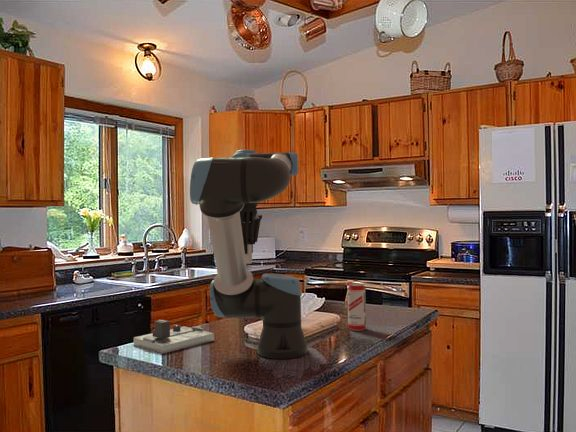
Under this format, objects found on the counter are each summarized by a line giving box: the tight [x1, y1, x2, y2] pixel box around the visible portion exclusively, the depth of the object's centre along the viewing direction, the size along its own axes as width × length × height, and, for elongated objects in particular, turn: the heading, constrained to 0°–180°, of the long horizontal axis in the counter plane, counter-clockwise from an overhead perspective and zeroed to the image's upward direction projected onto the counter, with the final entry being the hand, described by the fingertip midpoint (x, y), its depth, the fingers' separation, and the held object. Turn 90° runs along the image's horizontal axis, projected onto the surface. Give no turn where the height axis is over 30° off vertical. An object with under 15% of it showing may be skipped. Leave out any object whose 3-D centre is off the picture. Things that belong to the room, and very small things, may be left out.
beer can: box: [347, 282, 367, 332], centre depth 185 cm, size 6×6×16 cm
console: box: [133, 324, 215, 355], centre depth 171 cm, size 16×20×4 cm
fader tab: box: [154, 319, 171, 339], centre depth 167 cm, size 4×3×5 cm
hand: (247, 263), depth 182 cm, fingers closed
